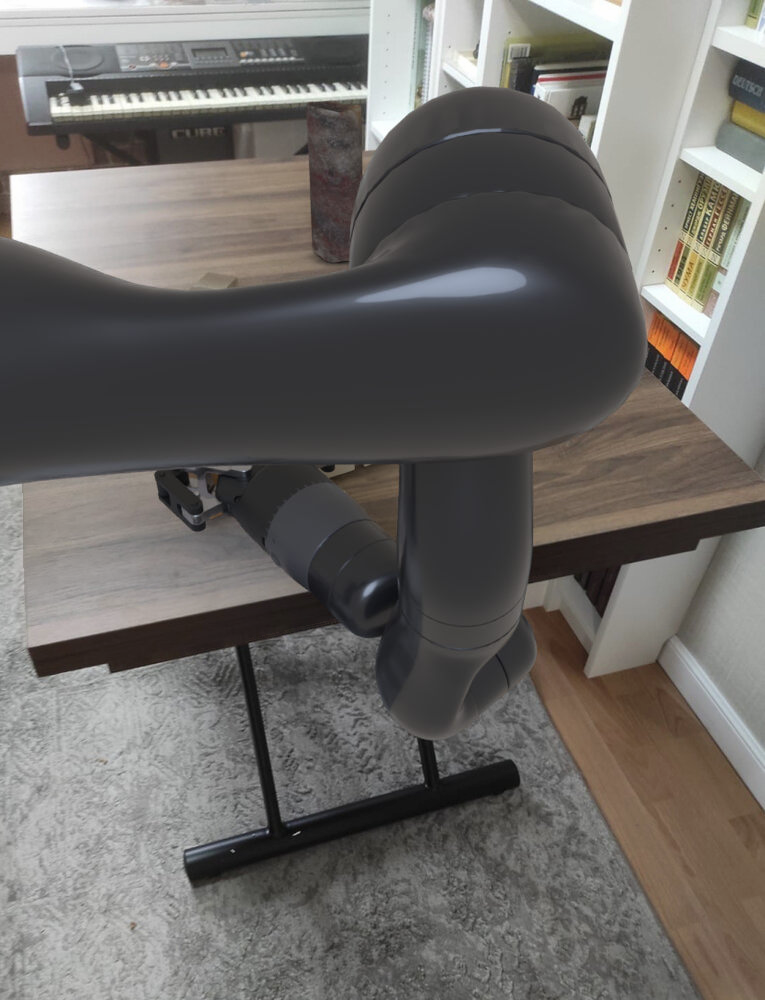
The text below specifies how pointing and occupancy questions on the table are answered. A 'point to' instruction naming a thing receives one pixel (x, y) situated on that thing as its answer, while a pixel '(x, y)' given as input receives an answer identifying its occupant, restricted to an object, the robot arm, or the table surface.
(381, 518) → the table surface
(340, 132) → the dark stone core sample
